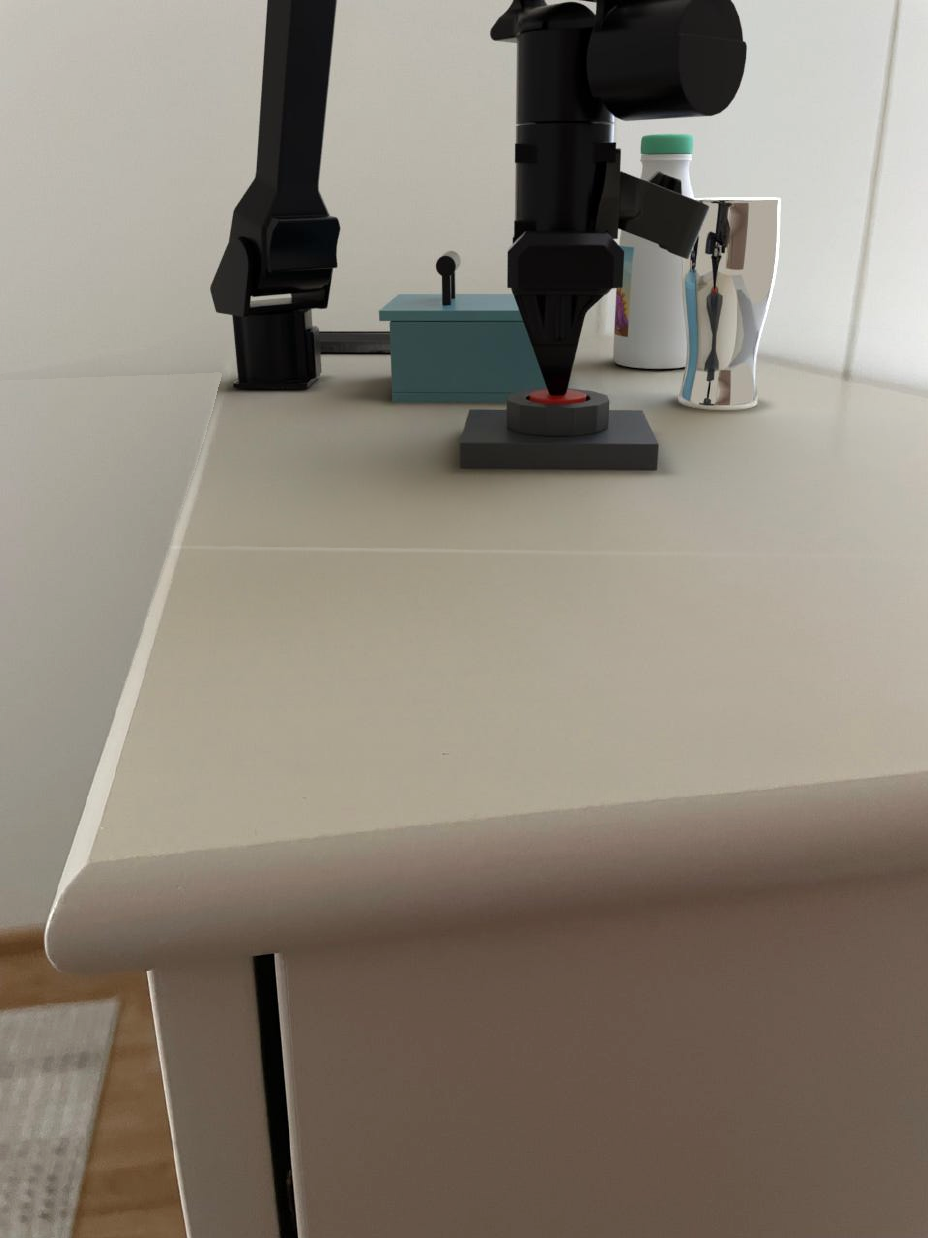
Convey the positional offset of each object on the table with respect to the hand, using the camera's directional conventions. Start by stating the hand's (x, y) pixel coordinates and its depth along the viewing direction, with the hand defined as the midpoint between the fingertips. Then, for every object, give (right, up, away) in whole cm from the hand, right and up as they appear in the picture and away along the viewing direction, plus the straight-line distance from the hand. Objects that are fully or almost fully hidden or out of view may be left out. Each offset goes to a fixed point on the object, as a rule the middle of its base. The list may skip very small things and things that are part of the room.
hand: (557, 394), depth 66 cm
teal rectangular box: (-5, +5, +22) cm, 23 cm away
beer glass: (+14, +2, +15) cm, 21 cm away
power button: (0, -2, +1) cm, 2 cm away
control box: (0, -3, +1) cm, 4 cm away
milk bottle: (+12, +10, +33) cm, 37 cm away
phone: (-17, +14, +44) cm, 49 cm away
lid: (-5, +11, +20) cm, 23 cm away
